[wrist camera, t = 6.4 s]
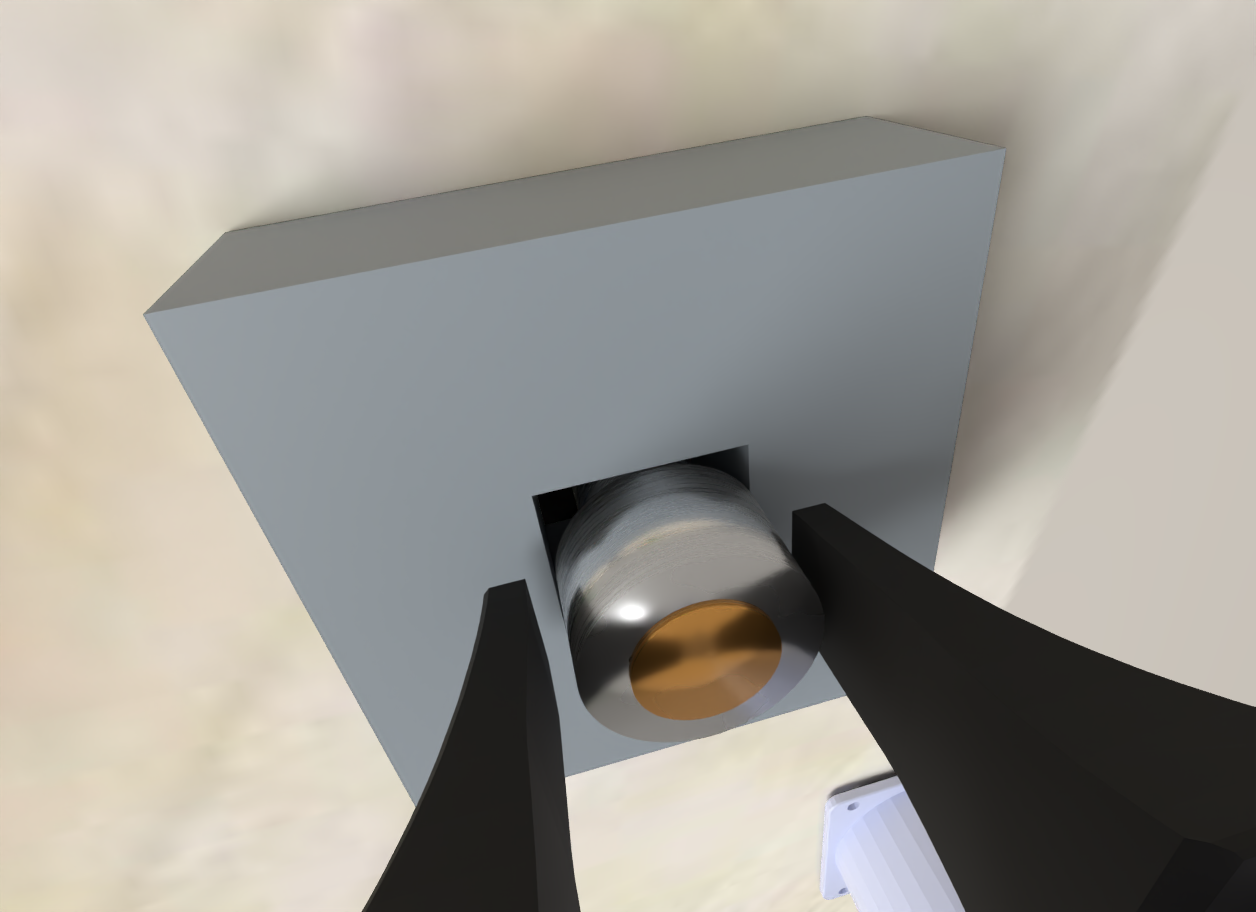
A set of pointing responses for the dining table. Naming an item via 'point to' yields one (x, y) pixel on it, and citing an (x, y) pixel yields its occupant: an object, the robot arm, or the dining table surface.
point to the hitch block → (582, 381)
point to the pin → (681, 604)
